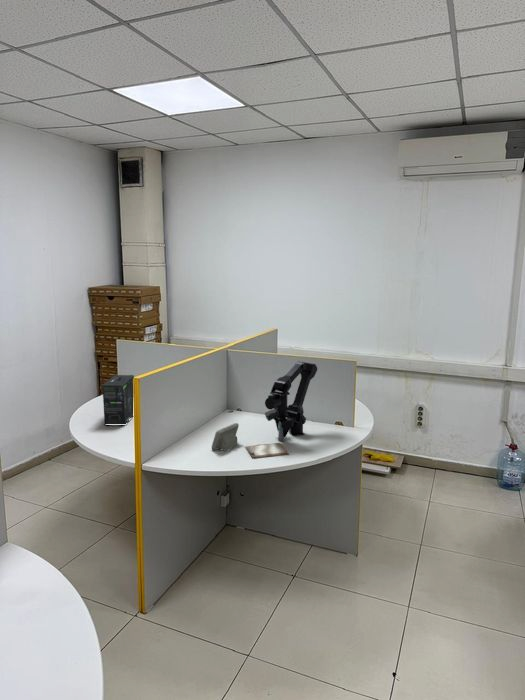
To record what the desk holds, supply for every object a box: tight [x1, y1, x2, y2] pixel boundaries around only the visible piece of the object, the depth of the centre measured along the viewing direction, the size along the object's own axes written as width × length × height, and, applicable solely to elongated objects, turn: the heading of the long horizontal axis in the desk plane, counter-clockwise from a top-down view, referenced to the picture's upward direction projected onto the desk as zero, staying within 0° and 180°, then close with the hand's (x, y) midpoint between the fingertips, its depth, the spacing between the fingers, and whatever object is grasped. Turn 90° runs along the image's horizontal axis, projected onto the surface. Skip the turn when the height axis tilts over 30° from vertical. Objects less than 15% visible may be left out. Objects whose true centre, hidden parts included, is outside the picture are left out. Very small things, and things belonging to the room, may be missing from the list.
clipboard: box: [244, 442, 290, 459], centre depth 232 cm, size 18×14×2 cm
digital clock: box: [211, 422, 239, 452], centre depth 237 cm, size 16×9×11 cm, turn 133°
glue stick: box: [277, 423, 285, 443], centre depth 245 cm, size 3×3×9 cm
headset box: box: [101, 374, 135, 425], centre depth 275 cm, size 22×12×26 cm, turn 179°
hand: (281, 434), depth 245 cm, fingers open, 9 cm apart
